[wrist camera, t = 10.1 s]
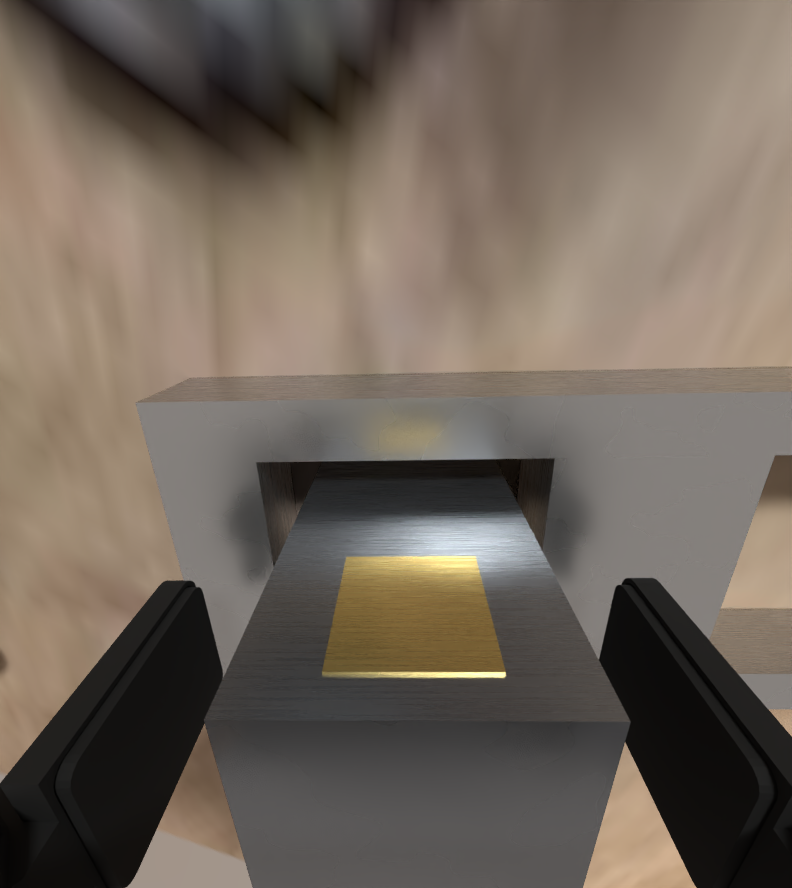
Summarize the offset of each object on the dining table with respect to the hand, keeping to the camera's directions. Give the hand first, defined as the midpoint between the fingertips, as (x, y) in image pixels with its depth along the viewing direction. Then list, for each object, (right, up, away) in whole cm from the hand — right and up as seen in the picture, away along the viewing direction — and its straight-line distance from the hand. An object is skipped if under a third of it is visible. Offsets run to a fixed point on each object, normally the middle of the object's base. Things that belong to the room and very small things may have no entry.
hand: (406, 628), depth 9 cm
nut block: (0, +2, +4) cm, 4 cm away
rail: (+6, +2, +4) cm, 7 cm away
